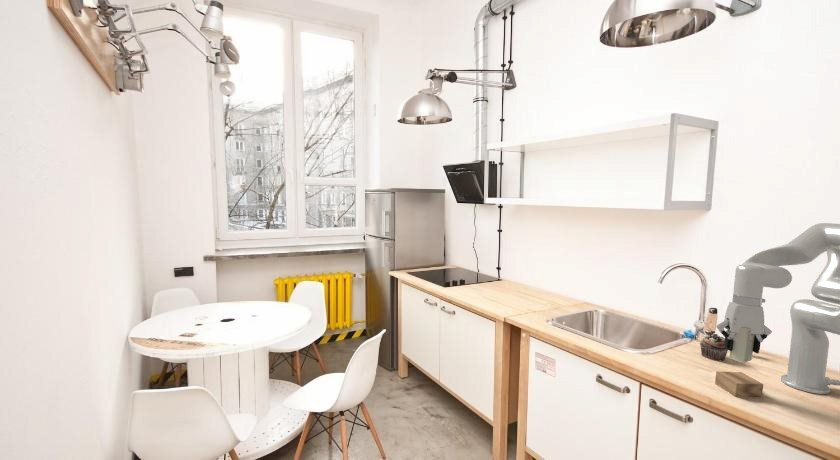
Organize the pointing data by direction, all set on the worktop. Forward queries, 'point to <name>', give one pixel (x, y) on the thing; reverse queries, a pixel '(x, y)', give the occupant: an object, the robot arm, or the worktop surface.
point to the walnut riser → (739, 384)
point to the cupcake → (713, 347)
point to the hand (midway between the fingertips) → (741, 350)
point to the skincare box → (742, 346)
